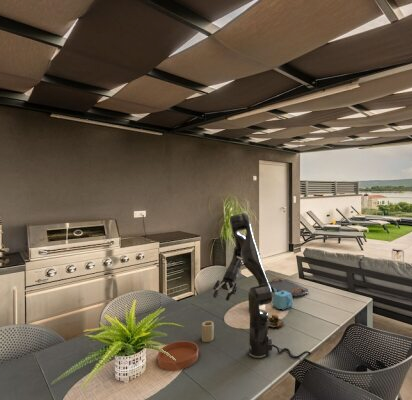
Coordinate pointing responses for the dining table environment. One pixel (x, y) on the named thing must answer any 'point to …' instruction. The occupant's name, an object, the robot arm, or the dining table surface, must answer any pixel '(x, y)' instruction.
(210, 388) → the dining table surface
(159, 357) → the pan
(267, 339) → the robot arm
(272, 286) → the serving tray
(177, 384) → the dining table surface
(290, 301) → the teapot
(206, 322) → the jar
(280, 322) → the burger
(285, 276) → the dining table surface
